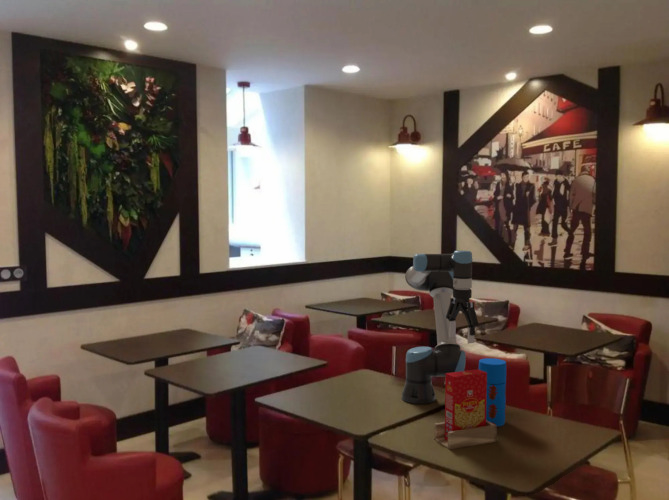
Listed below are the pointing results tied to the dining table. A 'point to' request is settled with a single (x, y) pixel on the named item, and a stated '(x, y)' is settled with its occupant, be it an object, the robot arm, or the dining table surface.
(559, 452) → the dining table surface
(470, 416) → the food packaging
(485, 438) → the u rest
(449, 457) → the dining table surface
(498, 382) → the thermos
